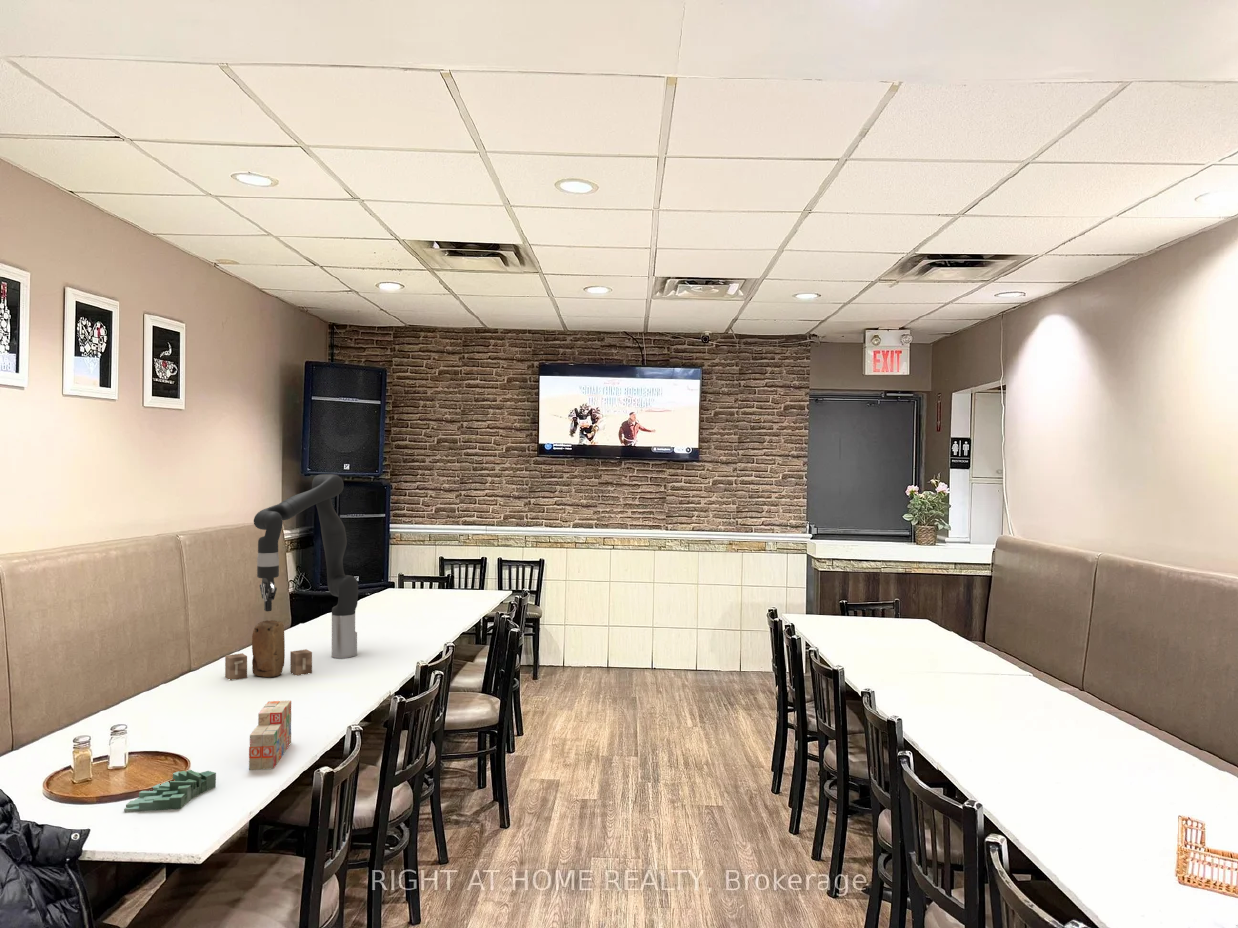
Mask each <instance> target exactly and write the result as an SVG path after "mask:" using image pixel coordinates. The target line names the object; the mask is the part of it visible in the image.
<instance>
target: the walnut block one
mask: <svg viewBox="0 0 1238 928" xmlns="http://www.w3.org/2000/svg"><path fill="white" fill-rule="evenodd" d="M289 658H290V659H289V660H290V665H289V666H290V667H289V668H290V669H289V670H290V672H291V674H292V673H293V674H292V675H294V676H295V675H297V676H302V675H301V674H304V675H309V674H308V673H310V674H313V652H312V651H310V650H308V649H307V648H306V649H299V650H293V651H292V650H291V651H290V657H289Z"/></svg>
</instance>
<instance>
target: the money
mask: <svg viewBox="0 0 1238 928" xmlns="http://www.w3.org/2000/svg"><path fill="white" fill-rule="evenodd" d="M173 779H175V781H170V780H169V781H170V783H169V782H168V781H165V782H162V784H161V785H160V783H158V784H155V785H154V786H151V789H152V788H153V789H154V790H153V791H150V790H141V791H139V792H138V797H137V798H136V799H134V800H129V801H128V803H126V804H125V807H124V809H123V811H124V812H125V813H134V812H135V813H137V812H144V811H145V812H149V811H151V812H154V811H166V810H182V808H183V807H184V806H185V805H186V804H187V803H189V802H190V801H191V800H192V799H194V798H196V797H198V796H199V795H201V794H204V793H205V792H207V791H210V790H211V789H215V788H216V785H217V784H216V783H217V772H214V771H211V770H206V771H201V772H198V771H194V770H192V769H188V770H186V771H185V770H181V771H175V772H173V773H172V780H173Z"/></svg>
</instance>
